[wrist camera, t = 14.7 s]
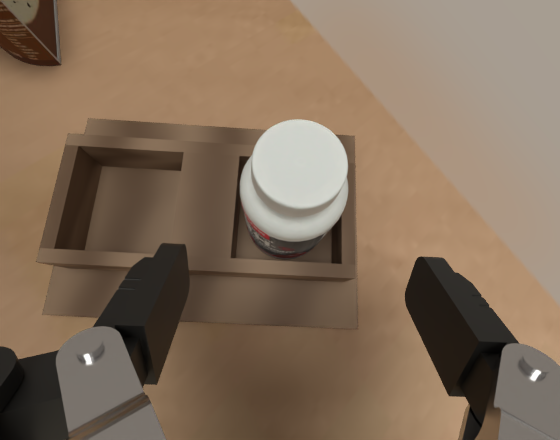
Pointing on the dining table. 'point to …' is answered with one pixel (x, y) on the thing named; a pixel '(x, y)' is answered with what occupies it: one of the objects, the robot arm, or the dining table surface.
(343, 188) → the pill bottle
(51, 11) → the food container
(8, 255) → the dining table surface
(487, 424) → the robot arm
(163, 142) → the walnut organizer
